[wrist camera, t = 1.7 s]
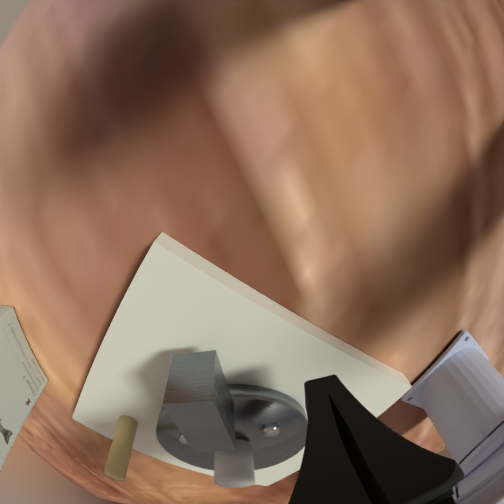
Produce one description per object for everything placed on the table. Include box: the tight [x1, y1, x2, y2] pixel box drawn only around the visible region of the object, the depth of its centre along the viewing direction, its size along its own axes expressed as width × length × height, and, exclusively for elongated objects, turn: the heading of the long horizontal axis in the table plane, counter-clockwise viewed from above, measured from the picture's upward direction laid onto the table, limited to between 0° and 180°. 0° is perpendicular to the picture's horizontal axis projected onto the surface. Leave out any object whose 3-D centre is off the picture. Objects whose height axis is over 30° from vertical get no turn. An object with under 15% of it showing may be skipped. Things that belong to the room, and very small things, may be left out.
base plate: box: [72, 232, 412, 488], centre depth 14 cm, size 20×18×6 cm
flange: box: [156, 350, 308, 470], centre depth 13 cm, size 14×10×4 cm
